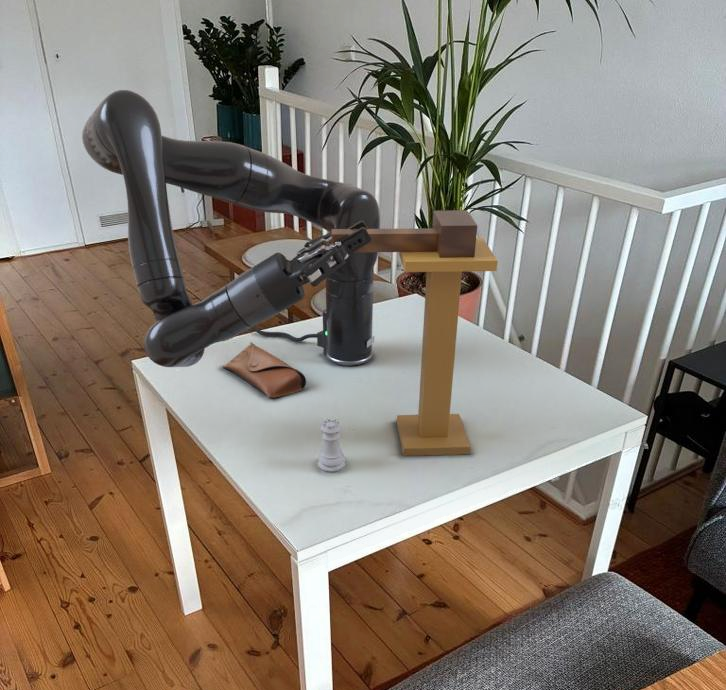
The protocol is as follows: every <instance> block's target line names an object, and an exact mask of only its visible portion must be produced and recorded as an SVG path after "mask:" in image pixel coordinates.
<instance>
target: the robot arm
mask: <svg viewBox="0 0 726 690" xmlns="http://www.w3.org/2000/svg"><path fill="white" fill-rule="evenodd" d="M81 135H82V136H81V140H82V144H83V147H84V149H85V151H86V153H87V154H88V155H89V157H90V158H91V159H92V160H93V161H94V162H95V163H96V164H97V165H98V166H100V167H101V168H103V169H105V170H107V171H108V172H112V173H114V174H117V175H121V176H123V181H124V185H125V192H126V201H127V242H128V252H129V258H130V263H131V268H132V271H133V275H134V279H135V283H136V287H137V291H138V295H139V297H140V300H141V301H142V303H143V304H144V305H145V306H146V307H148V308H149V309H150V311H152V314H153V315H154V318H155V320H156V322H155V323H153V324H152V325H151V326H150V327H149V329H148V330H147V332H146V333H145V336H144V340H143V347H144V351H145V353H146V356H147V357H148V359H149V360H150V361H152V363H154V364H156V365H158V366H160V367H162V368H163V367H164V368H187V367H188V368H189V367H191V366H194V365H196V364H198V363H199V362H200V361H201V359H202V358H203V356H204V354H205V349H206V348H209V347H210V346H212V345H214V344H216V343H223V342H226V341H229V340H232V339H234V338H235V337H237V336H239V335H241V334H242V333H244V332H246V331H247V330H249V329H252V330H253V331H254V332H256V333H257V334H258V335H261V336H268V337H272V336H273V337H284V338H287V339H289V340H291V341H293V342H299V343H300V342H303V341H305V340H308V339H313V338H316V342H317V343H316V344H317V347H320V348H322V350H323V355H324V356H326V359H327V360H328V361H329V362H331V363H333V364H336V365H339V366H347V367H351V366H353V367H354V366H360V365H365V364H367V363H368V362H369V361H371V360H372V359H373V344H374V343H375V335H373V323H374V322H373V321H374V319H373V318H374V312H373V311H374V269H375V268H374V267H375V265H376V263H377V260H378V256H379V255H378V254H379V252H360V253H352V252H354V251H356V250H358V249H359V248H361V247H363V246H364V245H366V244H368V243H369V242H370V241H371V238H370V235H369V234H368V232H367V230H366V229H381V213H380V207H379V203H378V201H377V199H376V197H375V196H374V195H373V194H372V193H371V192H369V191H367V190H365V189H363V188H360V187H357V186H355V185H352V184H349V183H346V182H341V181H335V180H330V179H325V178H320V177H317V176H312V175H310V174H307V173H303V172H301V171H299V170H297V169H295V168H293V167H292V166H290V165H289V164H288V163H285V162H283V161H281V160H279V159H277V158H276V157H273V156H272V155H269V154H266V153H264V152H262V151H259V150H256V149H254V148H251V147H248V146H246V145H243V144H240V143H235V142H231V141H223V140H219V141H218V140H184V139H183V140H182V139H176V138H172V137H168V136H165V135H162V129H161V124H160V120H159V117H158V115H157V113H156V111H155V109H154V107H153V106H152V105H151V103H150V102H149V101H148V100H147V99H146V98H145V97H143V96H142V95H141V94H139V93H138V92H135V91H132V90H129V89H119V90H116V91H113V92H111V93H109V94H108V95H107V96H106V97H105V98H104V99H103V100H102V101H101V102H100V103H99V105H98V106H97V107H96V108H95V110H94V111H93V112H92V113H91V115H90V116H89V117H88V119H87V120H86V122H85V123H84V126H83V129H82V134H81ZM167 185H172V186H176V187H178V188H181V189H185V190H188V191H190V192H194V193H196V194H200V195H203V196H207V197H211V198H213V199H216V200H220V201H223V202H226V203H228V204H231V205H234V206H237V207H241V208H244V209H247V210H252V211H255V212H261V213H268V214H269V213H270V214H286V215H290V216H294V217H297V218H300V219H302V220H305V221H307V222H309V223H311V224H313V225H316V226H318V227H320V228H322V229H323V230H325V231H327V232H328V233H326V234H324V235H321V236H319V237H317V238H314V239H312V240H310V241H307V242H306V243H305V244H304V245H303V247H302V248H301V249H300V250H298V251H297V252H296V256H294V257H293V258H292V259H290V260H289V259H287V257H286V256H285V255H284V254H283V253H281V252H274V254H272V255H270V256H268V257H267V258H265V259H264V260H262V261H260V262H258V263H257V264H255V265H254V266H251V268H249V269H247V270H245V271H244V272H242V273H241V274H239V275H238V276H236V277H235V278H234V279H232V281H230V282H228V283H227V284H226V285H224V286H222V287H221V288H219V289H217V290H216V291H214V292H213V293H211V294H210V295H208V296H207V297H206V298H203V299H202V300H200V301H199V302H196V303H193V302H192V300H191V298H190V296H189V294H188V290H187V288H186V283H185V277H184V273H183V270H182V265H181V262H180V261H181V260H180V257H179V253H178V249H177V245H176V240H175V236H174V230H173V224H172V219H171V212H170V205H169V200H168V199H169V198H168V197H169V196H168V190H167V189H168V188H167ZM331 229H358V230H356V231H355V232H353V233H351V234H350V235H348V236H346V237H345V238H343V239H341V240H342V242H341V241H340V240H339V241H336V242H335V243H333V244H332V234H331ZM324 281H325V309H323V310H322V330H321V331H318V332H317V333H308V334H305V335H303V336H300V337H295V336H293V335H291V334H289V333H287V332H283V331H264V330H261V329H259V328H258V327H257V325H259V324H261V323H264V322H266V321H268V320H269V319H271V318H273V317H275V316H277V315H278V314H280V313H282V312H283V311H286V310H287V309H288V308H290V307H292V306H294V305H296V304H297V303H299V302H300V301H302V300H304V298H305V295H306V293H305V288H304V285H307V284H308V283H309V284H310V285H311V286H312V288H314V287H317V286H319V284H321V283H322V282H324Z"/></svg>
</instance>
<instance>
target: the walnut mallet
mask: <svg viewBox="0 0 726 690" xmlns="http://www.w3.org/2000/svg"><path fill="white" fill-rule="evenodd" d="M432 213H433V216H432V227H430V228H421V227H420V228H380V229H366V230H367V232H368V234H369V235H370V238H371V241H370V242H369V243H368V244H366V245H364V246H363V247H361V248H359V249H358V250H356V251H354V252H352V253H360V252H378V253H398V252H437V253H438V255H439V257H440V258H450V257H475V247H476V238H477V237H478V236H477V235H478V225H477V223H476V222H475V220H474V219H473V217H472V216H471V214H470V212H469V211H468V210H467V209H465V210H464V209H463V210H461V209H460V210H459V209H458V210H455V209H454V210H433V211H432ZM356 230H358V229H331V234H332V242H331V245H332V244H333V243H335V242H336V241H339V240H340V241H341V242H342V240H341V239H343V238H345V237H346V236H348V235H350V234H351V233H353V232H355V231H356Z"/></svg>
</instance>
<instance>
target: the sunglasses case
mask: <svg viewBox="0 0 726 690" xmlns="http://www.w3.org/2000/svg"><path fill="white" fill-rule="evenodd" d="M222 369H224V370H227V371H229V372H231V373H233V374H234V375H236V376H237V377H239V378H240V379H242V380H243V381H244V382H246V383H247V384H249V385H250V386H252V387H253V389H255V390H257V391H258V392H260V393H261V394H263V395H264V396H266V397H267V398H271V399H277V398H282V397H286V396H289V395H293V394H295V393H298V392H301V391H303V390H304V389H305V387H306V385H307V377H306V376H305V374H303V372H301V371H299V370H298V369H296V368H295V367H293V366H291V365H289V364H288V363H287V362H286V361H283V360H282V359H280V358H278V357H276V356H275V355H273V354H271V353H270V352H268V351H266V350H264V349H263V348H261V347H259V346H258V345H256V344H254V343H253V342H251V341H250V344H249V345H248V346H246V347H245V348H244V349H243V350H241V351H240V352H239V353H238V354H236V355H235V356H234V357H233V358H232V359H231V360H230V361H229V362H227V364H225V365H222Z"/></svg>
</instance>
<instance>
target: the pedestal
mask: <svg viewBox="0 0 726 690" xmlns="http://www.w3.org/2000/svg"><path fill="white" fill-rule="evenodd" d="M397 253H398V256H399V259H400V263H401V265H402V268H403V271H404V273H426V275H425V294H424V296H425V297H424V311H423V327H422V328H423V329H422V344H421V345H422V346H421V360H420V361H421V363H420V377H419V378H420V379H419V394H418V395H419V397H418V411H417V412H418V414H397V415H396V426H397V431H398V436H399V442H400V446H401V451H402V456H403V457H417V456H419V457H420V456H457V455H471V444H470V441H469V438H468V435H467V432H466V430H465V427H464V424H463V421H462V418H461V415H460V413H451V405H452V404H451V403H452V393H453V392H452V391H453V380H454V368H455V356H456V346H457V345H456V344H457V335H458V323H459V312H460V311H459V310H460V298H461V287H462V274H463V272H497V271H498V261H499V260H498V259H497V257H496V256H495V254H494V253H493V251H492V249H491V248H490V247H489V245H488V244H487V242H486V241H485V238H483V237H476V247H475V257H450V258H440V257H439V255H438V253H437V252H397Z"/></svg>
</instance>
